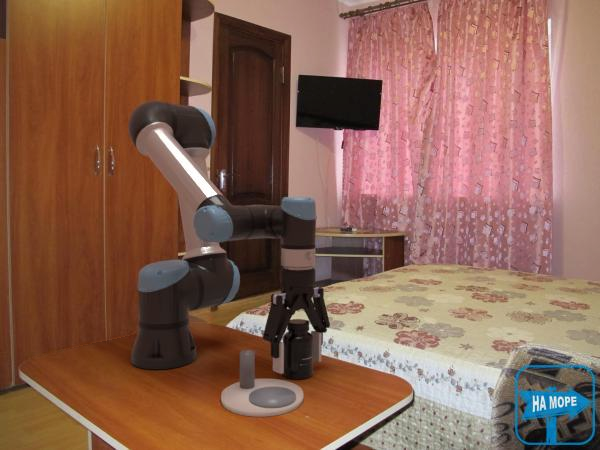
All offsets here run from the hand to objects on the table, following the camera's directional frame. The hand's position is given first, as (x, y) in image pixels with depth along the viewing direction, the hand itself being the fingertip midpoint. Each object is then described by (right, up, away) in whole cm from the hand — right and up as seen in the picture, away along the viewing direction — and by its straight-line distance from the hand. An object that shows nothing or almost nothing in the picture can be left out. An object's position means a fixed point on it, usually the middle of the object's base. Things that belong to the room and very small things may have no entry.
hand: (297, 365), depth 110 cm
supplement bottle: (0, -2, 0) cm, 2 cm away
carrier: (-7, -3, -13) cm, 15 cm away
